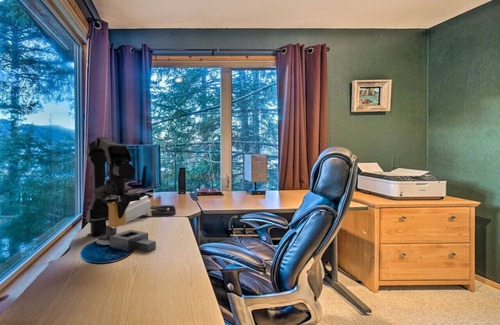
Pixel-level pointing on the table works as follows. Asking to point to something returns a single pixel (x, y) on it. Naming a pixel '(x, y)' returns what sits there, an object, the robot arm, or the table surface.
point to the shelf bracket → (137, 209)
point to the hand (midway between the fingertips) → (117, 217)
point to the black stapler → (163, 210)
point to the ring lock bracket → (127, 240)
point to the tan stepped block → (115, 216)
